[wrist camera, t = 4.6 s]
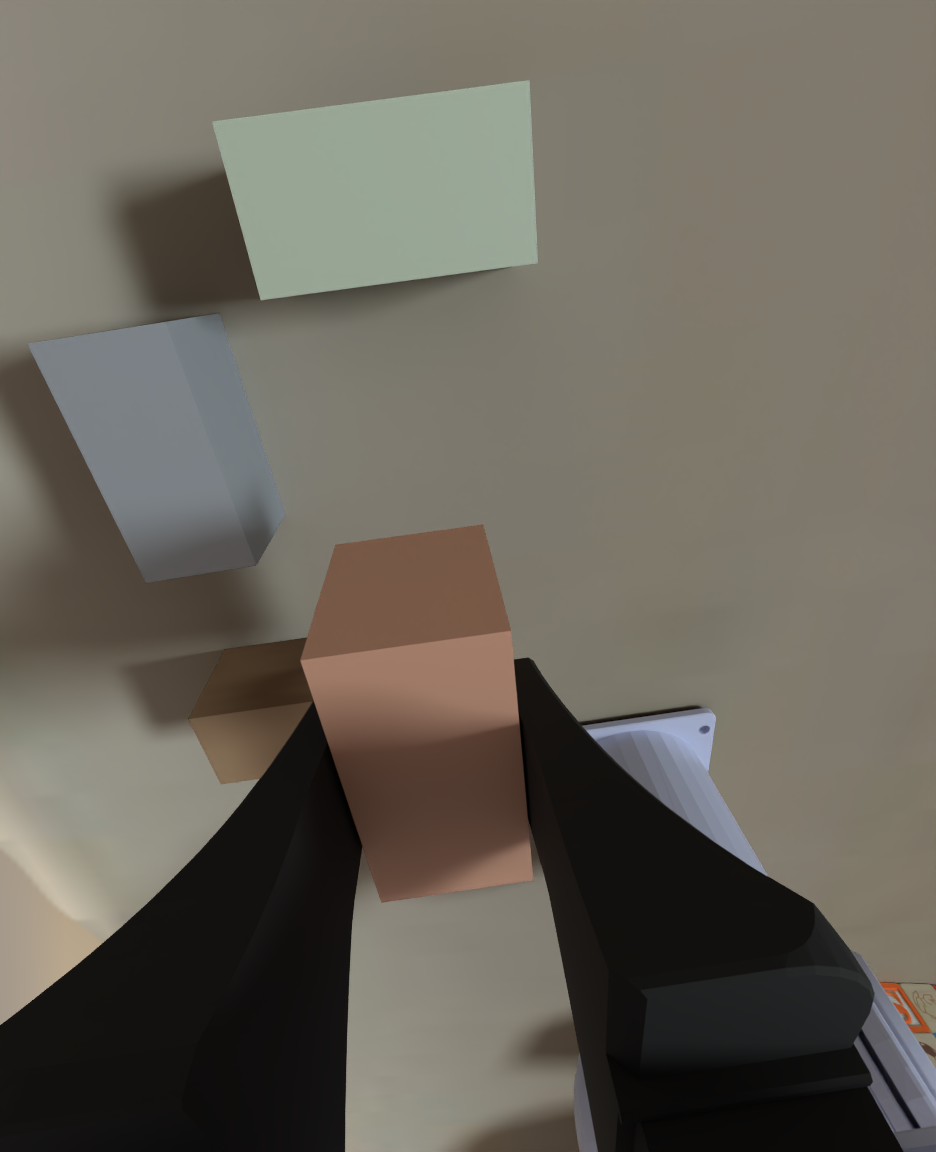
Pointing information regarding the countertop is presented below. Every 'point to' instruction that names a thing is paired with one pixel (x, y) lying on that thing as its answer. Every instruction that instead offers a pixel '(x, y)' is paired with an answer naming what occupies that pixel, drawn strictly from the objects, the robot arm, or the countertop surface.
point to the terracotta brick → (423, 711)
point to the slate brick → (168, 442)
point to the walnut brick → (251, 708)
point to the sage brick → (384, 189)
